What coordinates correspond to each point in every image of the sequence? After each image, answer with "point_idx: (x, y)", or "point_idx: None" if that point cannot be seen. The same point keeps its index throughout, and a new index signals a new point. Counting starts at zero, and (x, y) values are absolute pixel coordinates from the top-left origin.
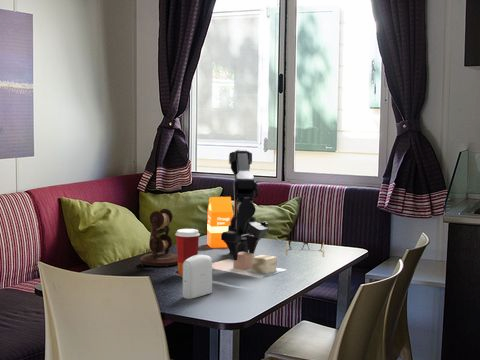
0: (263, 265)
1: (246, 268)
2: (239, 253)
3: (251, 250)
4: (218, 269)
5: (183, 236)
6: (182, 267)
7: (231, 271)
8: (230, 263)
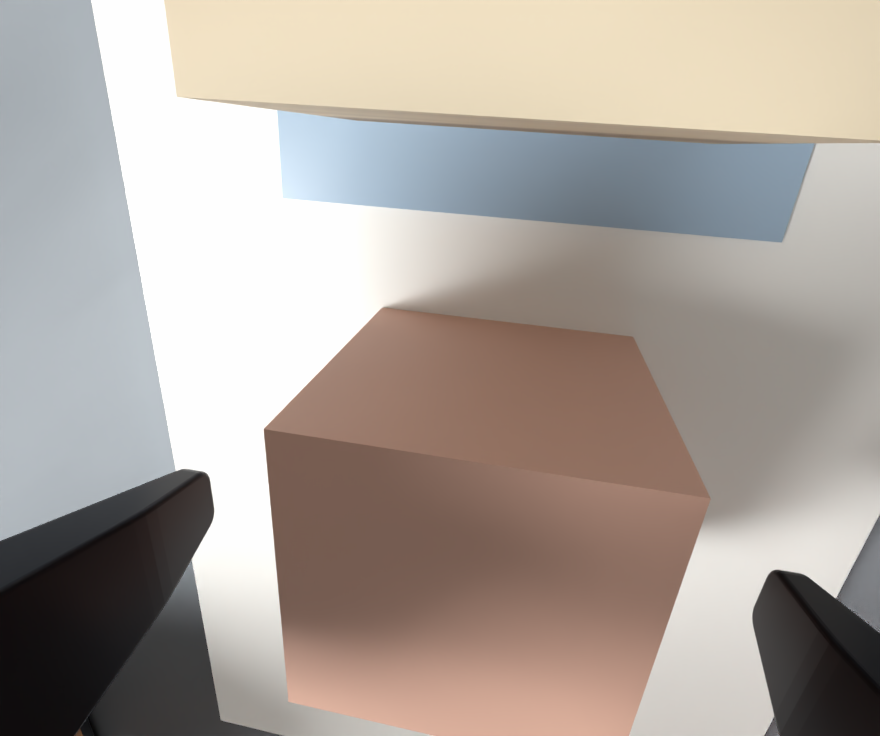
0: None
1: (581, 337)
2: (495, 695)
3: (117, 583)
4: None
5: None
6: None
7: (857, 464)
8: None
